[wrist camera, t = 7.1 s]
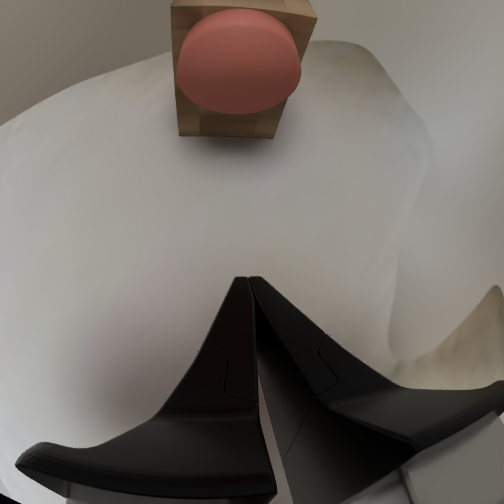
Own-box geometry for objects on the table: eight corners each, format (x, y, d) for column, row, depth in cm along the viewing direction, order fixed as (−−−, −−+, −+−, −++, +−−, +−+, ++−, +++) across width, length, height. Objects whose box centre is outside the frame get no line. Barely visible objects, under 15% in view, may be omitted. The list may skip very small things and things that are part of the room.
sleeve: (273, 138, 21) (317, 18, 10) (179, 136, 20) (170, 6, 9) (268, 94, 22) (301, -15, 11) (185, 90, 21) (184, -24, 10)
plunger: (285, 117, 15) (317, 37, 10) (179, 113, 14) (174, 26, 9) (272, 40, 17) (290, -22, 12) (192, 36, 17) (195, -30, 11)
